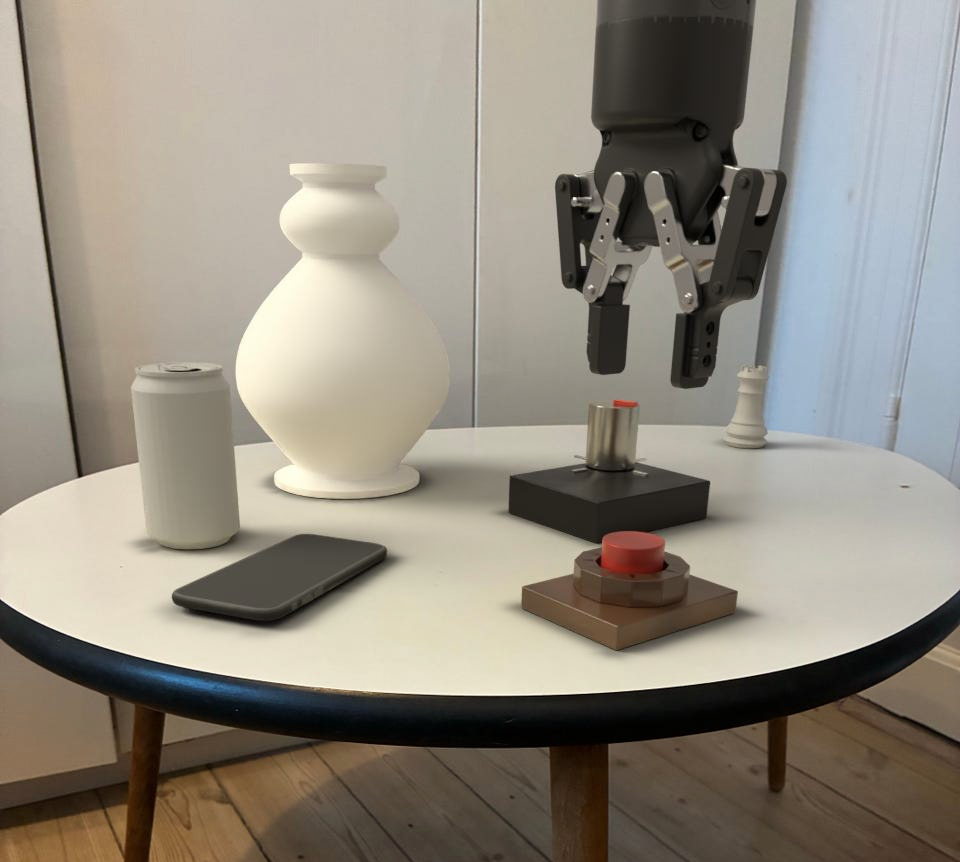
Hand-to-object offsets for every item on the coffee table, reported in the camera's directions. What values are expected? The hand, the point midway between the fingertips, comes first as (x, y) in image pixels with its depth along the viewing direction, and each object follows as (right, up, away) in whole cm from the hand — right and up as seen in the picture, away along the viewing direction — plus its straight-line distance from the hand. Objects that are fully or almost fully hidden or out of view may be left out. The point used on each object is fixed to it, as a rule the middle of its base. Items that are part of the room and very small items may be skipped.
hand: (646, 378), depth 56 cm
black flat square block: (+1, -4, +26) cm, 26 cm away
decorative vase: (-21, -1, +34) cm, 39 cm away
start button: (0, -10, +4) cm, 11 cm away
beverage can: (-29, -7, +17) cm, 35 cm away
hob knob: (+2, 0, +27) cm, 28 cm away
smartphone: (-21, -11, +9) cm, 25 cm away
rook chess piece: (+19, +6, +52) cm, 56 cm away
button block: (0, -12, +5) cm, 13 cm away
